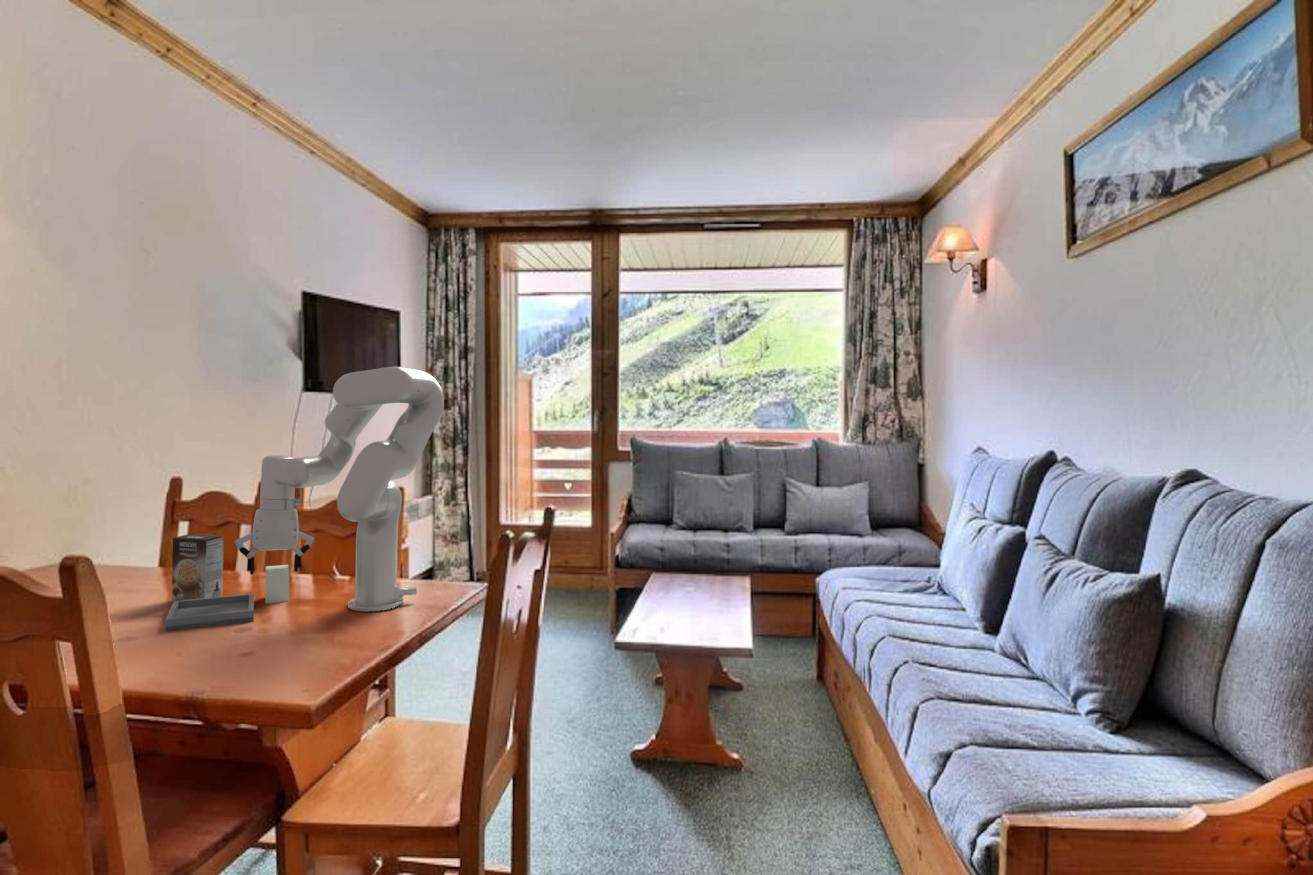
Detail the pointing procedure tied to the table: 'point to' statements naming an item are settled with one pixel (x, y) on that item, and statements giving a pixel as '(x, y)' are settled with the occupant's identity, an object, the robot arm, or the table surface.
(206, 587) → the coffee box
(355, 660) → the table surface
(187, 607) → the tray
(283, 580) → the sage block
